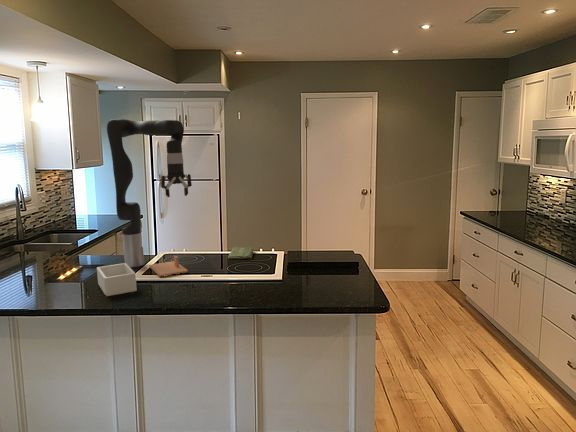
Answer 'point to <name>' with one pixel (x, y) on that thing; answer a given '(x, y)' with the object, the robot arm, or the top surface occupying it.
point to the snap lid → (168, 268)
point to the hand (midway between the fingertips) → (177, 196)
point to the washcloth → (241, 253)
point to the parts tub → (116, 279)
